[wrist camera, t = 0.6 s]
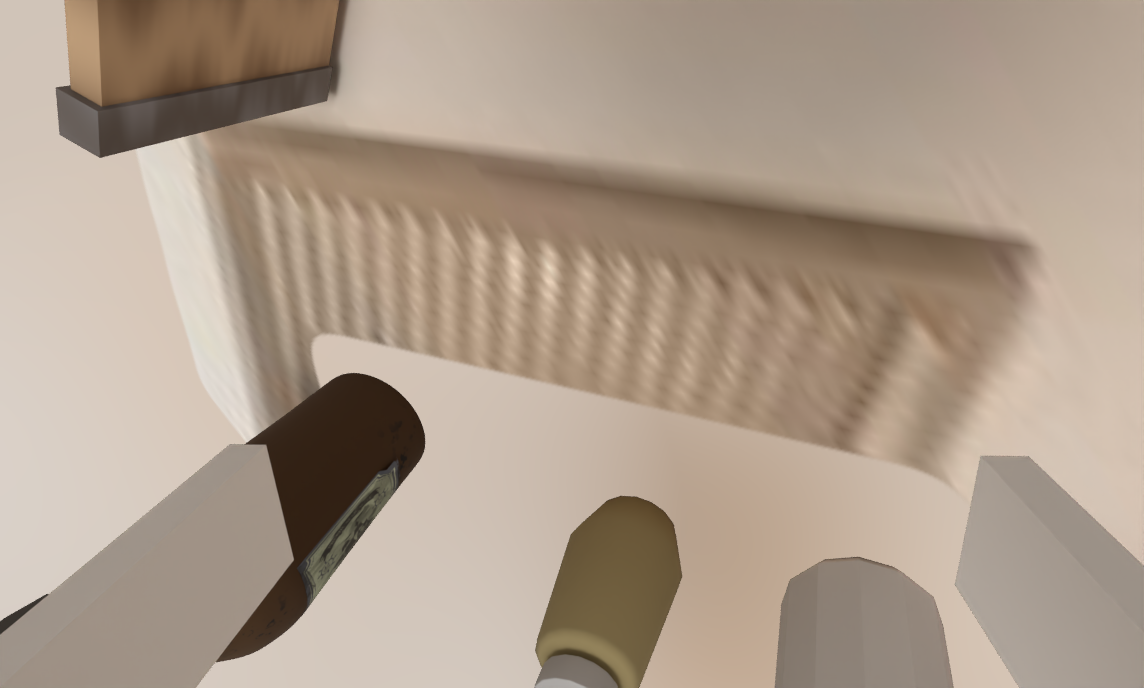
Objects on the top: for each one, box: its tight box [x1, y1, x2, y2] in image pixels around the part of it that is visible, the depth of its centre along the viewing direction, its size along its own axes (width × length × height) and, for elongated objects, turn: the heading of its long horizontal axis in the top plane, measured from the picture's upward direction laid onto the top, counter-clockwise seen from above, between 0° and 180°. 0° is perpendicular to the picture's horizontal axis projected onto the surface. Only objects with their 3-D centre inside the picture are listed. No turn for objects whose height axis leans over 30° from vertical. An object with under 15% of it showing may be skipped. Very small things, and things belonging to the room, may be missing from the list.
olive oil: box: [216, 373, 425, 662], centre depth 41 cm, size 11×11×25 cm
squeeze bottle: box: [535, 496, 682, 688], centre depth 40 cm, size 8×8×18 cm
